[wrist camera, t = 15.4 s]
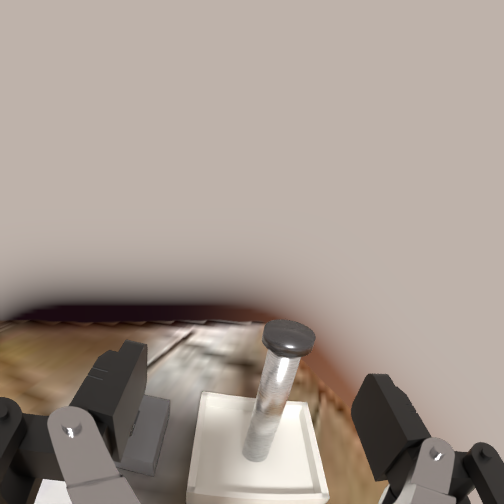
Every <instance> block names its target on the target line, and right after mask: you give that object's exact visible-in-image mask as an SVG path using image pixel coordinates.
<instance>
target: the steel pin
mask: <svg viewBox="0 0 504 504" xmlns="http://www.w3.org/2000/svg"><path fill="white" fill-rule="evenodd" d="M314 341H315V334H314V332H313V331H312V330H311V329H309V328H308V327H307V326H305V325H303V324H301V323H298V322H295V321H290V320H273V321H270V322H268V323H267V324H266V325H265V327H264V331H263V336H262V342H263V344H264V345H265V347H266V348H268V352H267V356H266V360H265V365H264V369H263V373H262V377H261V381H260V385H259V389H258V393H257V396H256V400H255V404H254V408H253V412H252V416H251V420H250V423H249V427H248V431H247V435H246V438H245V442H244V446H243V449H242V454H243V456H244V457H245V458H246V459H247V460H249V461H252V462H261V461H264V460H265V459H266V458H267V456H268V453H269V451H270V448H271V445H272V442H273V440H274V437H275V434H276V431H277V429H278V426H279V423H280V420H281V417H282V414H283V411H284V408H285V405H286V402H287V399H288V396H289V393H290V390H291V387H292V384H293V381H294V378H295V374H296V371H297V368H298V365H299V362H300V358H301V357H303V356H306V355H308V354H309V353H310V352H311V351H312V348H313V345H314Z"/></svg>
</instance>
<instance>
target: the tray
mask: <svg viewBox="0 0 504 504" xmlns="http://www.w3.org/2000/svg"><path fill="white" fill-rule="evenodd" d="M255 400H256V398H248V397H239V396H231V395H224V394H217V393H210V392H204V391H202V394H201V400H200V407H199V413H198V419H197V425H196V432H195V438H194V444H193V451H192V458H191V464H190V471H189V478H188V485H187V492H186V504H326V503H327V501H328V500H329V499H330V497H329V492H328V488H327V484H326V479H325V475H324V471H323V466H322V462H321V458H320V454H319V450H318V445H317V441H316V437H315V433H314V429H313V425H312V420H311V416H310V412H309V408H308V404H307V402H293V401H287V402H286V405H285V408H284V411H283V414H282V417H281V420H280V423H279V426H278V429H277V431H276V434H275V437H274V440H273V442H272V445H271V448H270V451H269V453H268V456H267V458H266V459H265V460H264V461H261V462H252V461H249V460H247V459H246V458H245V457H244V456H243V454H242V449H243V446H244V442H245V438H246V435H247V431H248V427H249V423H250V420H251V416H252V412H253V408H254V404H255Z"/></svg>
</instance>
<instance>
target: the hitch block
mask: <svg viewBox="0 0 504 504" xmlns="http://www.w3.org/2000/svg"><path fill="white" fill-rule="evenodd" d="M169 406H170V400H167V399H162V398H157V397H152V396H148V395H144V396H143V398H142V401H141V404H140V407H139V410H138V412H137V415H136V418H135V421H134V424H135V427H134V430H133V433H132V435H131V436H129V438H128V441H127V444H126V447H125V450H124V453H123V456H122V459H121V463H119V462H115V461H113V462H114V464H115V466H116V467H118V468H122V469H125V470H129V471H133V472H137V473H141V474H145V475H149V476H154V473H155V469H156V465H157V461H158V457H159V453H160V449H161V445H162V441H163V437H164V433H165V429H166V426H167V422H168V418H169Z"/></svg>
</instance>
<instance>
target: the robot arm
mask: <svg viewBox="0 0 504 504" xmlns="http://www.w3.org/2000/svg"><path fill="white" fill-rule="evenodd" d="M146 383H147V344H143V343H139V342H134V341H130V340H125V341H124V343H123V345H122V347H121V348H120V350H119V352H116V351H112V350H109V351H107V352H105V353H104V354H102V355H101V356H99V357H98V359H97V360H96V362H95V364H94V365H93V368H91V370H90V372H89V373H88V376H87V377H86V378H85V380H84V381H83V383H82V385H81V386H80V388H79V390H78V391H77V393H76V395H75V396H74V398H73V400H72V402H71V403H70V405H69V406H67V407H61V408H59V409H57V410H55V411H54V412H52V414H51V415H50V416H41V415H33V414H25V413H22V411H21V409H20V407H19V405H18V404H17V403H16V402H15V401H13V400H11V399H9V398H5V397H0V504H34V502H35V499H36V496H37V493H38V491H39V488H40V485H41V483H42V480H43V479H49V480H58V481H65V482H66V485H67V487H66V488H67V491H68V494H69V497H70V499H71V501H72V504H141V503H140V502H139V500H138V498H137V497H136V495H135V493H134V492H133V490H132V488H131V486H130V485H129V483H128V481H127V480H126V478H125V477H124V476H123V475H120V473H119V471H118V470H117V468H116V466H115V464H114V462H113V461H115V462H119V463H121V459H122V456H123V453H124V450H125V447H126V444H127V441H128V438H129V436H130V433H131V430H132V427H133V424H134V421H135V418H136V415H137V412H138V410H139V407H140V404H141V401H142V398H143V396H144V393H145V388H146ZM351 416H352V420H353V422H354V425H355V428H356V430H357V433H358V436H359V438H360V441H361V444H362V446H363V449H364V452H365V454H366V457H367V460H368V462H369V465H370V468H371V471H372V473H373V476H374V479H375V482H376V481H383V480H388V482H389V484H388V485H387V486H386V488H385V489H384V492H383V494H382V496H381V498H380V501H379V503H378V504H471V503H470V500H469V498H468V496H467V495H468V494H470V492H471V491H473V490H474V489H475V488H476V490H477V492H478V494H479V496H480V498H481V500H482V502H483V504H504V463H503V461H502V460H501V458H500V456H499V454H498V453H497V451H496V450H495V449H494V448H493V447H492V446H491V445H489V444H486V443H482V442H479V443H476V444H475V445H474V446H473V447H472V448H471V449H470V450H469V452H457V451H454V450H453V449H452V447H451V445H450V444H449V443H447V442H446V441H444V440H442V439H440V438H434V437H431V435H430V434H429V432H428V430H427V428H426V427H425V425H424V423H423V422H422V420H421V418H420V417H419V415H418V413H416V410H415V408H414V406H412V403H411V402H410V400H409V398H408V397H407V395H406V394H405V393H404V392H403V391H402V390H400V389H399V388H398V387H396V386H395V385H394V383H393V381H392V380H391V378H390V377H389V375H387V374H368V375H367V376H366V377H365V379H364V381H363V384H362V385H361V387H360V389H359V391H358V394H357V396H356V397H355V399H354V401H353V404H352V408H351Z"/></svg>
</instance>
